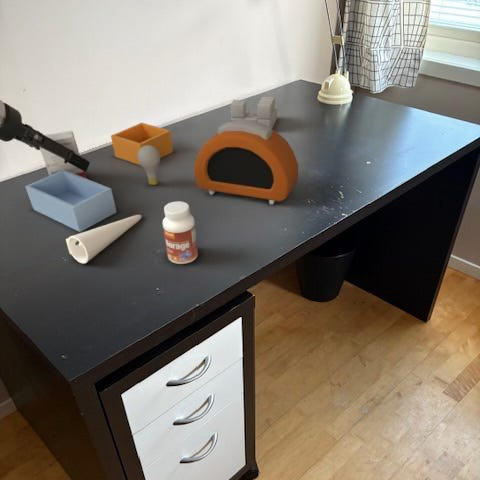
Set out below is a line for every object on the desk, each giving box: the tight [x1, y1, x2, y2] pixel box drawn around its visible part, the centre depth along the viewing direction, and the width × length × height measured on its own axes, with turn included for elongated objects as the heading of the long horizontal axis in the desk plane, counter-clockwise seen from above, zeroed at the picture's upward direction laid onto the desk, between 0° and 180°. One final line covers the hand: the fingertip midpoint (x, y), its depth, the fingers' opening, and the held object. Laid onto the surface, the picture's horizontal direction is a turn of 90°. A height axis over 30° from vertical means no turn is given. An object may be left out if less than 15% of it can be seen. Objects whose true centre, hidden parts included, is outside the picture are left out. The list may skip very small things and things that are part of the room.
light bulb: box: [137, 145, 161, 186], centre depth 117 cm, size 5×6×10 cm
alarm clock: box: [193, 120, 299, 205], centre depth 110 cm, size 23×9×17 cm, turn 68°
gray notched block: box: [230, 96, 278, 130], centre depth 146 cm, size 12×12×8 cm
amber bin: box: [110, 122, 174, 166], centre depth 133 cm, size 12×12×6 cm
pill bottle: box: [162, 200, 199, 265], centre depth 93 cm, size 6×6×11 cm
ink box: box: [39, 130, 87, 179], centre depth 120 cm, size 9×5×12 cm, turn 110°
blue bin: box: [24, 170, 117, 233], centre depth 110 cm, size 18×11×6 cm, turn 52°
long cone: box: [65, 214, 142, 264], centre depth 100 cm, size 6×6×19 cm
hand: (75, 162), depth 123 cm, fingers open, 9 cm apart
